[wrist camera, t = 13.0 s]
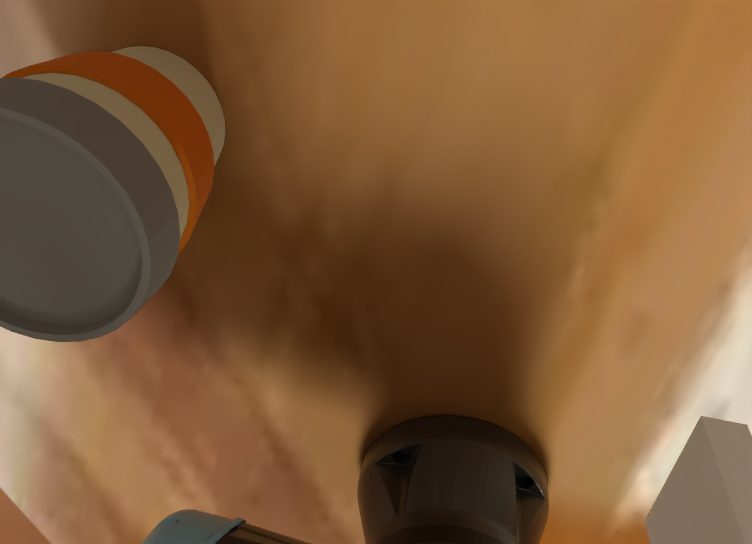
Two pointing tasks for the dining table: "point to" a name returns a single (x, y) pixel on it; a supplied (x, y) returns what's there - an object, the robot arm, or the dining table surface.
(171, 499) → the dining table surface
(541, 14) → the dining table surface
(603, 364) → the dining table surface
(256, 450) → the dining table surface
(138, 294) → the reusable coffee cup
